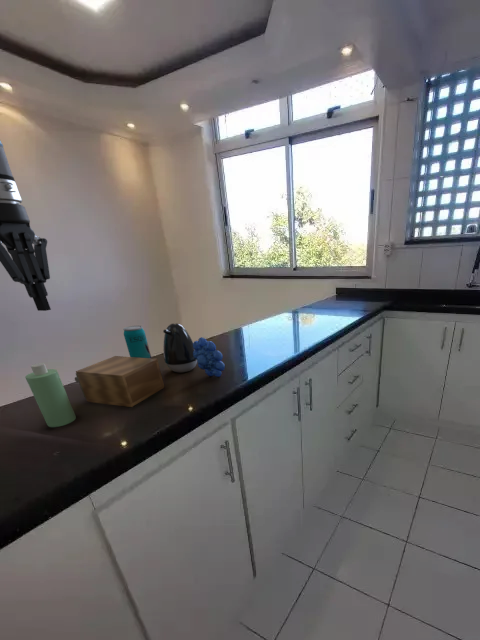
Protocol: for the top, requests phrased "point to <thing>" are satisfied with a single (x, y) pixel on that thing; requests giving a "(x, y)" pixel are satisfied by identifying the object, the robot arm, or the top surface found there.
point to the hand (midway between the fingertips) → (44, 310)
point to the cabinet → (121, 380)
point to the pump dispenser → (178, 349)
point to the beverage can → (136, 342)
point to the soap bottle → (50, 395)
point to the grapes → (208, 357)
